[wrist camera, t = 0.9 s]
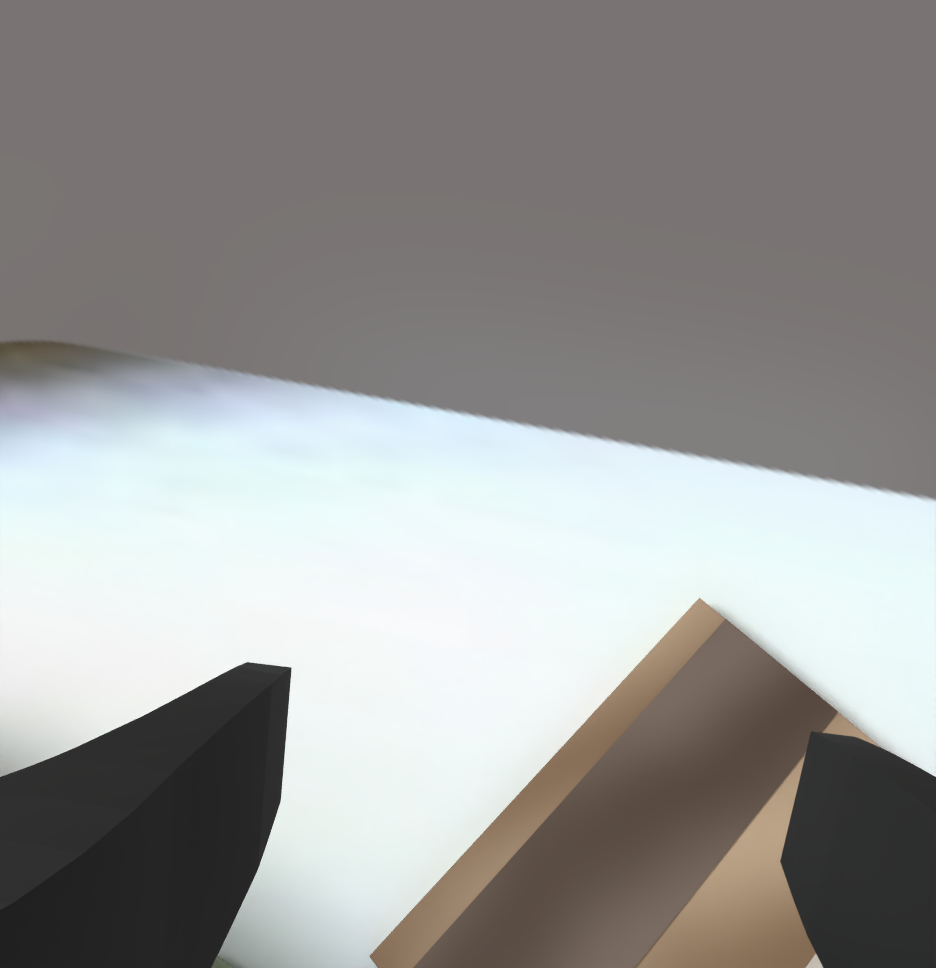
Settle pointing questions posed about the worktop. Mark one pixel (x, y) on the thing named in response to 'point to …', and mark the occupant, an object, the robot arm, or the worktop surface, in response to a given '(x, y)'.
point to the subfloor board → (644, 827)
